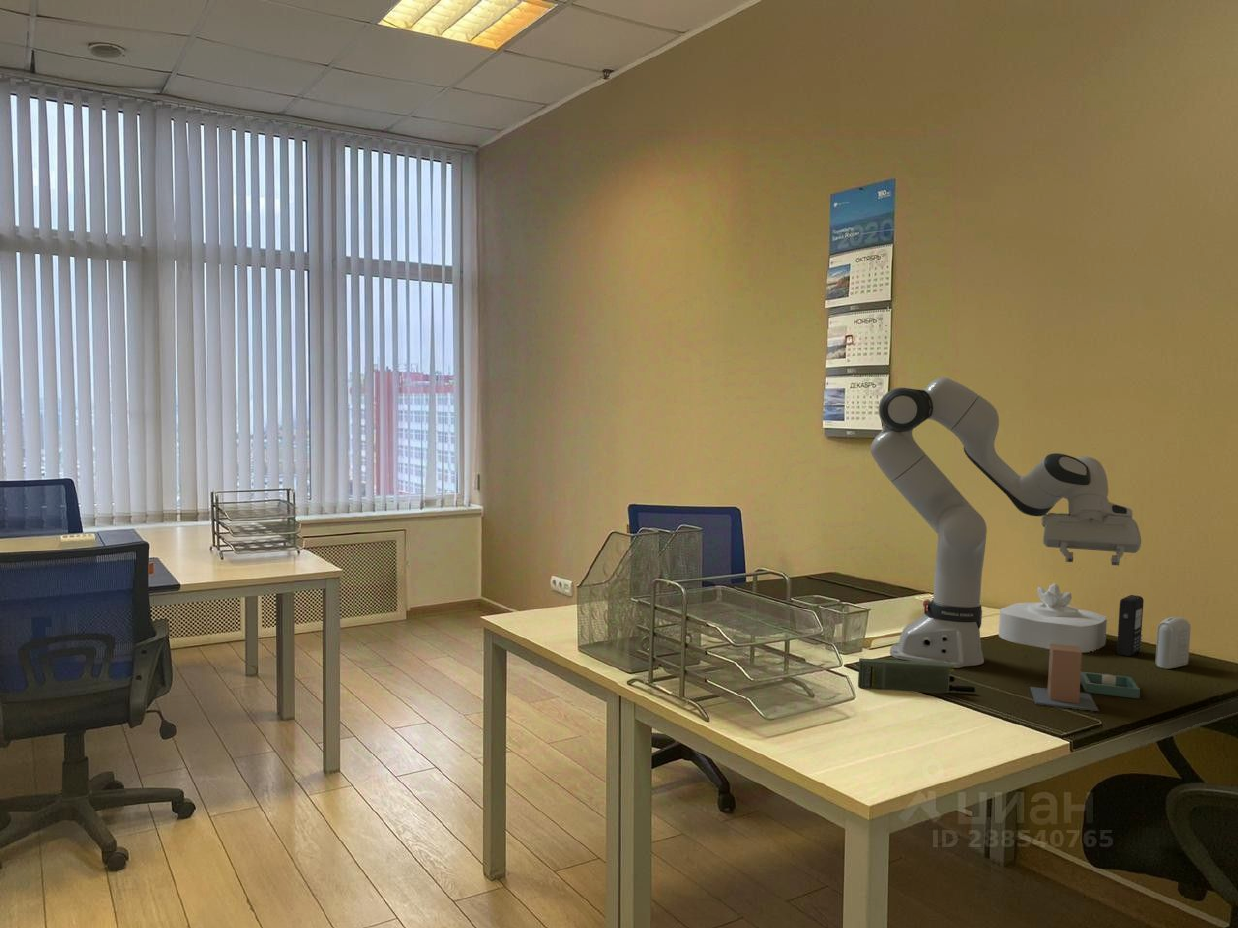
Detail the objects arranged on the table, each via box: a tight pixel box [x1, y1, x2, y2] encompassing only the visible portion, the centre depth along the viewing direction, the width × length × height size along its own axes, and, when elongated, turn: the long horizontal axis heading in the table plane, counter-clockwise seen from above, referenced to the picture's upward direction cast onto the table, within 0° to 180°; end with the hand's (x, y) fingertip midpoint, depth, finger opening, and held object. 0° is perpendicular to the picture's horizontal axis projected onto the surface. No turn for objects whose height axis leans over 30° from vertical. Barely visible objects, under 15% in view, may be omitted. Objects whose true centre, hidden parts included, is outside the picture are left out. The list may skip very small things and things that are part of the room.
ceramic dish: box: [1080, 671, 1141, 699], centre depth 208 cm, size 11×11×3 cm
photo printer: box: [1154, 616, 1192, 670], centre depth 230 cm, size 10×4×12 cm, turn 123°
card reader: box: [1116, 594, 1145, 657], centre depth 241 cm, size 9×4×15 cm, turn 136°
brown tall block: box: [1046, 644, 1083, 703], centre depth 198 cm, size 6×6×11 cm
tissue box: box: [998, 582, 1108, 653], centre depth 255 cm, size 25×25×16 cm
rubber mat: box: [1030, 686, 1099, 712], centre depth 199 cm, size 12×12×1 cm
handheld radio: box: [857, 657, 976, 694], centre depth 202 cm, size 7×3×25 cm
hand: (1092, 562), depth 209 cm, fingers open, 8 cm apart
